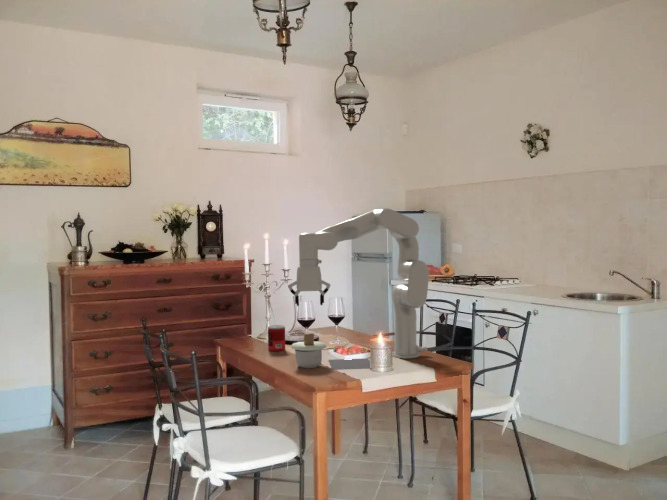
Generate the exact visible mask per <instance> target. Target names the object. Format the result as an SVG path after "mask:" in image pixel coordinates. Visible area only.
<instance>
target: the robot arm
mask: <svg viewBox="0 0 667 500" xmlns="http://www.w3.org/2000/svg"><path fill="white" fill-rule="evenodd" d="M419 227H420V226H419V224H418V222H417V221H416V220H415V219H413V218H411V217H410V216H407V215H404V214H403V213H401V212H398V211H396V210H393V209H391V208H387V207H385V208H375V209H372V210H370V211H368V212H365V213H363V214H361V215H358V216H356V217H353V218H351V219H348V220H347V219H346V220H345V221H343V222H339V223H337V224H333V225H331V226H328V227H326V228H324V229H321V230H319V231H317V232H303V233H302V232H301V233H300V234H299V236H298V250H299V252H298V253H299V254H298V255H299V259H298V260H299V261H298V263H299V266H297V270H296V280H294V282H291V283H289V284H287V288H288V290H289V291H290V293H291V294H292V295H294V304H296V307H299V305H300V298H299V297H300V296H299V294H300V293H301V292H319V294H320V295H319V304H320V306H324V305H323V304H325V295H326V294H327V292H329V289H330V287H331V284H330V283H329V282H327V281H325V280H323V279H322V272H321V266H320V264H322V259H319V251H321V250H322V251H333V250H334V249H335V248H336V247H337V246H338V244H339V243H340V242H344V241H348V240H356V239H359V238H362V237H364V236H367V235H369V234H371V233H374V232H376V231H378V230H381V229H386V230H388V232H389V234H390V236H392V237H393V238H394V239H395V240H396V242H397V244H398V262H397V276H398V278H400V279H401V280H403V281H407V283H400V284H397V285H396V286H395V287H394V288H393V291H392V303H393V308H394V310H393V311H394V350H393V351H391V352H392V356H391V357H393V358H398V359H404V360H405V359H409V360H410V359H416V358H420V357H421V352H423V353H425V352H428V347H427V346H419V345H417V310H416V309H420V308H421V307H423V306H424V305H425V303H426V302H427V298H428V288H429V280H430V279H429V277H430V272H429V268H428V265H427V264H426V263H425V262H424V261H422V260H420V259H419V256H420V255H419V251H420V250H419V249H420V247H419V242H418V239H417V237H416V236H417V235H418V233H419V232H420V231H419V230H420V228H419ZM322 285H324V286H326V287H325V288H324V289H322V287H323V286H322ZM294 286H296V290H294V289H293V287H294Z"/></svg>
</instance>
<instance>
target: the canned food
mask: <svg viewBox="0 0 667 500" xmlns="http://www.w3.org/2000/svg"><path fill="white" fill-rule="evenodd" d="M267 345H268V348H267V349H268V351H269V352H273V353H274V352H278V353H279V352H283V351H285V349H286V326H285V325H282V324H272V325H268V326H267Z"/></svg>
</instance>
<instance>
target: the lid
mask: <svg viewBox="0 0 667 500" xmlns="http://www.w3.org/2000/svg"><path fill="white" fill-rule="evenodd" d="M314 335H315V334H314V333H313V332H304V334H303V341H297V342H293V343H292V344H291V349H293V350H294V351H295V350H302V351H314V350H321V351H322V350H324V349H326V348H327V344H326V343H325V342H323V341H315V336H314Z"/></svg>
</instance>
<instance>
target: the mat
mask: <svg viewBox="0 0 667 500" xmlns="http://www.w3.org/2000/svg"><path fill="white" fill-rule="evenodd" d="M344 359H345V358H343V359H335V358H334V359H328V360H327V361H328V363H329V365H330V368H331V370H332V371H334V370H361V369H362V370H363V369H364V370H365V369H371V368H370V362H371V361H370V359H369V358H367V357H366V358H351V359H352V360H344Z"/></svg>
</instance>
